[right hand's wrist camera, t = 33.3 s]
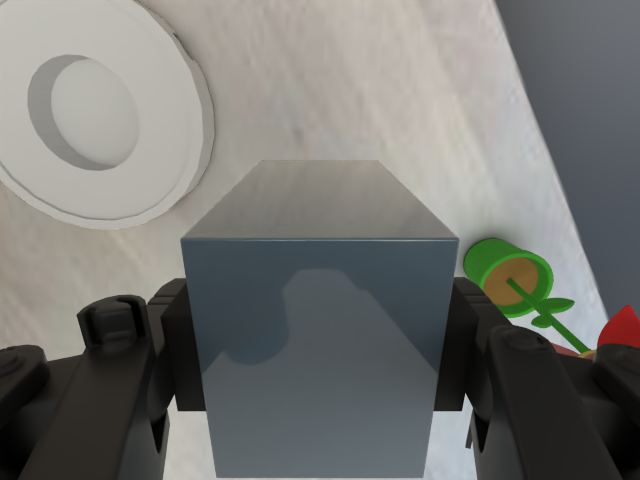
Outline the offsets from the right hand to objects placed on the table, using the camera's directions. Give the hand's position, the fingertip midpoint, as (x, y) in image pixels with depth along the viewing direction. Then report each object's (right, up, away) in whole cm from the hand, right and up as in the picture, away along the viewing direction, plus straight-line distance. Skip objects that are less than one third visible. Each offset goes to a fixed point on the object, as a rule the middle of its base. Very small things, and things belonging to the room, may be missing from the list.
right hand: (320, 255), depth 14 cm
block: (0, +1, +3) cm, 4 cm away
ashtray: (-23, +14, +23) cm, 36 cm away
